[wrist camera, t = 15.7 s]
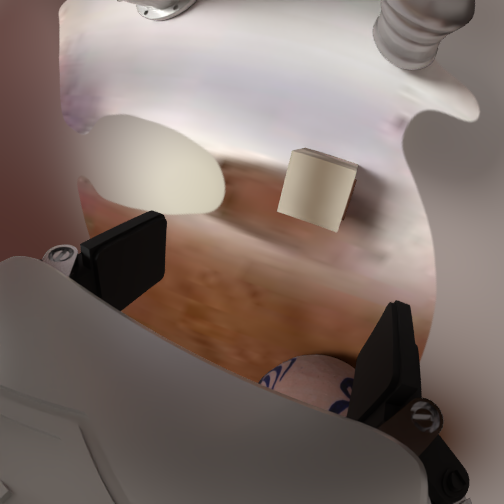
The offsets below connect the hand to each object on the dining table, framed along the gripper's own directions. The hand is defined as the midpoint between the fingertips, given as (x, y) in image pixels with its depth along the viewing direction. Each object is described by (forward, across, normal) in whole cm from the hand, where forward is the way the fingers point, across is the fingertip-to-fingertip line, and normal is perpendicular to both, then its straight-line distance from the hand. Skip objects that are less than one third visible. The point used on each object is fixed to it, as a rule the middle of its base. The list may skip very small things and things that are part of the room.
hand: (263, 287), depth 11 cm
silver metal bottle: (+22, -4, -18) cm, 29 cm away
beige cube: (+22, +1, 0) cm, 22 cm away
